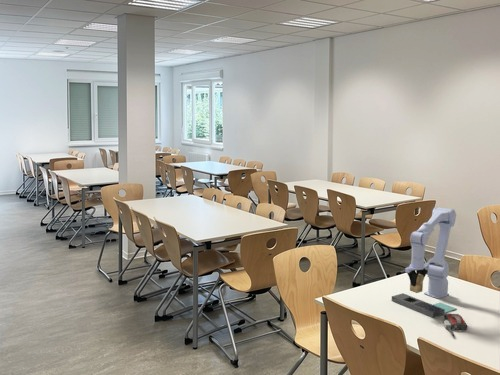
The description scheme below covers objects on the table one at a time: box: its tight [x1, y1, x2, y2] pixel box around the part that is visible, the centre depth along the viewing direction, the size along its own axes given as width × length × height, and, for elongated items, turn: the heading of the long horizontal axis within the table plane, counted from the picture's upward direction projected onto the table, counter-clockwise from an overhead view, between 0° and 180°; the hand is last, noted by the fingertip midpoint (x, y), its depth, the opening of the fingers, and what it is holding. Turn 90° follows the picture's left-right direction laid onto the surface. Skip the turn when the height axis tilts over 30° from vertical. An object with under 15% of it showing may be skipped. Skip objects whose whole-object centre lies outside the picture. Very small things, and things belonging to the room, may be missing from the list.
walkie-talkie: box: [443, 312, 468, 337], centre depth 207 cm, size 9×4×20 cm
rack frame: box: [391, 292, 446, 319], centre depth 229 cm, size 8×24×2 cm, turn 32°
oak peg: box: [409, 274, 424, 294], centre depth 231 cm, size 4×4×8 cm
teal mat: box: [432, 302, 457, 314], centre depth 228 cm, size 9×9×1 cm
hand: (416, 284), depth 231 cm, fingers closed on oak peg, 4 cm apart
